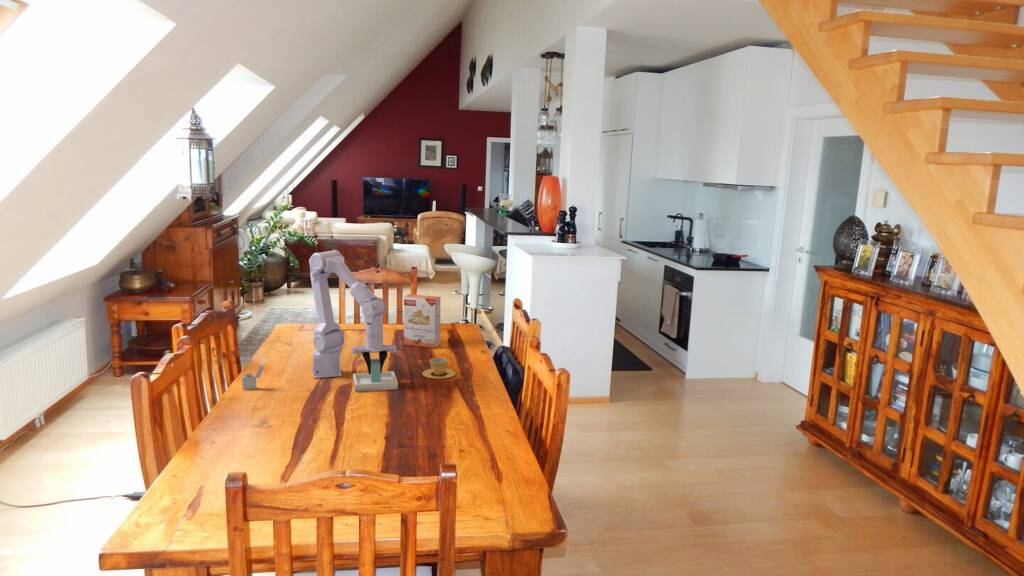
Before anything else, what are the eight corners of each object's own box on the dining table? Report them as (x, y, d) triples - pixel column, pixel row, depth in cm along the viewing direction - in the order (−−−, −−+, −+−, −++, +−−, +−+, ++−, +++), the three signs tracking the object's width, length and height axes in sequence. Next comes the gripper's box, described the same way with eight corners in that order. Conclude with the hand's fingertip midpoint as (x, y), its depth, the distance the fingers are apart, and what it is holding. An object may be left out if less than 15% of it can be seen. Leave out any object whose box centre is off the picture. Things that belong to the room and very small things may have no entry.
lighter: (242, 389, 231) (241, 366, 229) (243, 387, 232) (242, 364, 231) (264, 389, 232) (263, 365, 230) (265, 387, 233) (264, 364, 232)
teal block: (369, 378, 240) (369, 358, 239) (378, 377, 241) (378, 358, 239) (371, 384, 234) (371, 364, 233) (380, 383, 235) (380, 363, 234)
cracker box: (403, 345, 286) (403, 296, 282) (409, 342, 292) (409, 293, 288) (434, 349, 283) (435, 298, 278) (440, 345, 288) (440, 296, 284)
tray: (355, 392, 231) (355, 384, 230) (352, 380, 242) (352, 373, 242) (397, 388, 235) (397, 381, 234) (393, 377, 246) (393, 371, 246)
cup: (450, 381, 245) (450, 366, 244) (417, 378, 247) (417, 363, 246) (459, 370, 256) (459, 356, 255) (428, 368, 259) (428, 354, 258)
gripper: (353, 338, 229) (353, 378, 232) (397, 336, 233) (397, 375, 236) (351, 333, 236) (352, 371, 238) (394, 331, 240) (395, 368, 242)
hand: (374, 372), depth 238 cm, fingers closed on teal block, 3 cm apart
